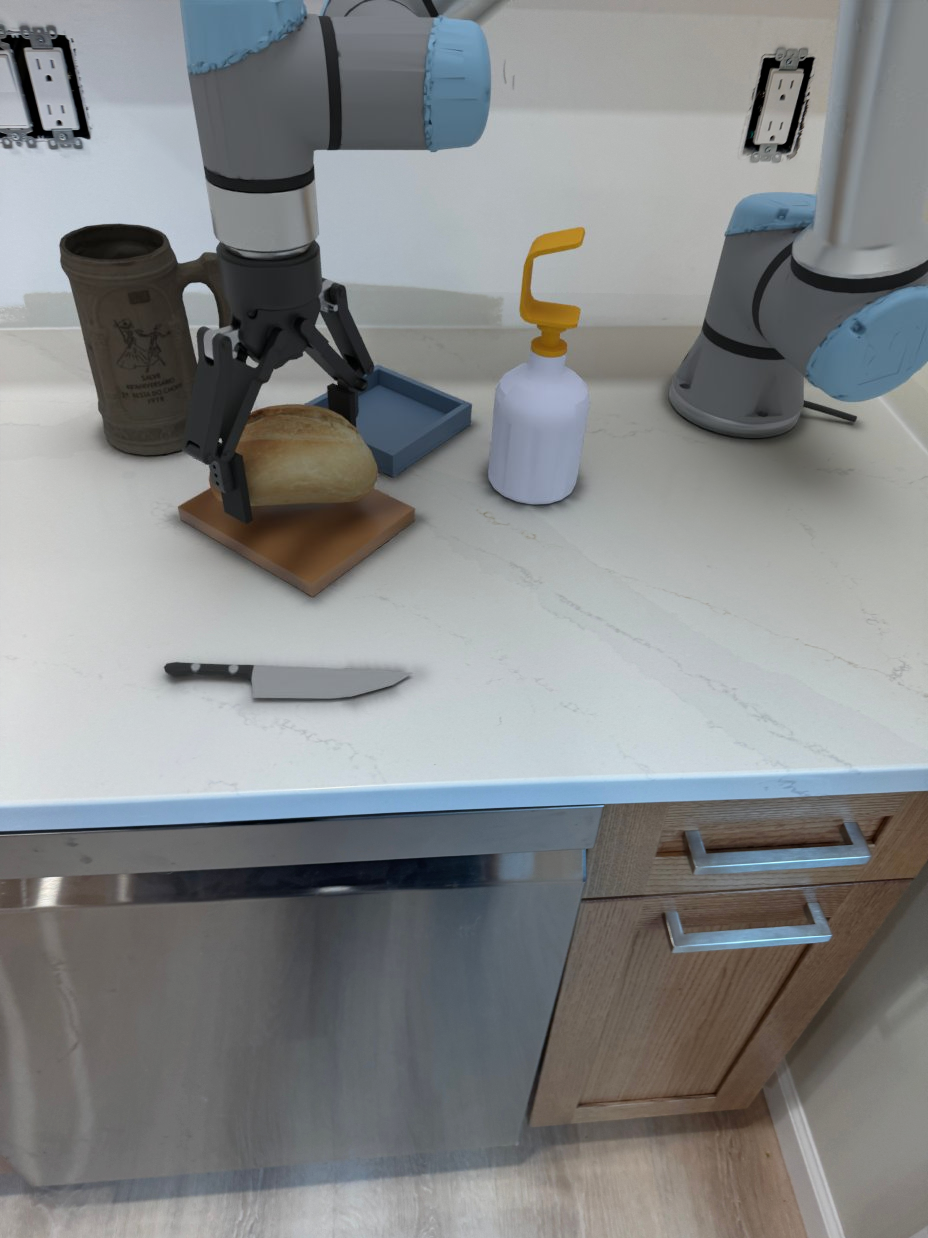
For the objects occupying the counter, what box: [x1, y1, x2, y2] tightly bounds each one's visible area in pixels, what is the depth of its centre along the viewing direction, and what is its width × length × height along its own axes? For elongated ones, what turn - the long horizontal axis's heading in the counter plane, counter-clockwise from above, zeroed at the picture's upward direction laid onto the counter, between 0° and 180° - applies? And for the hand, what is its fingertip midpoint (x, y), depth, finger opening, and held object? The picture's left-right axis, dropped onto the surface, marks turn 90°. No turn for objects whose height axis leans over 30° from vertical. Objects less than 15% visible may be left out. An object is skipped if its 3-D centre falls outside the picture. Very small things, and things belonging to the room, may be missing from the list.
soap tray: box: [303, 364, 473, 478], centre depth 90 cm, size 14×14×3 cm
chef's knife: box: [163, 661, 413, 700], centre depth 63 cm, size 19×1×3 cm
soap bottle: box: [487, 226, 591, 505], centre depth 76 cm, size 9×9×25 cm
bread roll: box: [208, 403, 379, 506], centre depth 73 cm, size 10×15×8 cm, turn 104°
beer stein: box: [58, 223, 231, 456], centre depth 82 cm, size 15×11×20 cm
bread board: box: [177, 487, 416, 598], centre depth 77 cm, size 17×14×2 cm
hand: (294, 482), depth 75 cm, fingers closed on bread roll, 13 cm apart
